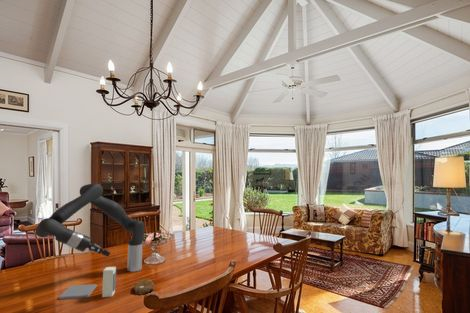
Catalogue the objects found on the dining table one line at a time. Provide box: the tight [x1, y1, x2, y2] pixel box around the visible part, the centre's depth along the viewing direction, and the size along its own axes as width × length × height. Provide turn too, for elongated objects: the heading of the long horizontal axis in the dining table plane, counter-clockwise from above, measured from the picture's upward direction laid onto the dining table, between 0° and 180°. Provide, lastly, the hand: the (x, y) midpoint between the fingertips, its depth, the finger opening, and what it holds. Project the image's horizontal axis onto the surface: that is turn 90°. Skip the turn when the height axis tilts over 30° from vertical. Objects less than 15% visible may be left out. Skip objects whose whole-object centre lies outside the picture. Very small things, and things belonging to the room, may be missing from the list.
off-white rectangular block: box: [101, 266, 117, 298], centre depth 145 cm, size 5×5×14 cm
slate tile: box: [58, 283, 98, 300], centre depth 147 cm, size 14×14×1 cm
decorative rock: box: [133, 278, 156, 296], centre depth 152 cm, size 11×4×15 cm
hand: (107, 253), depth 143 cm, fingers open, 8 cm apart
